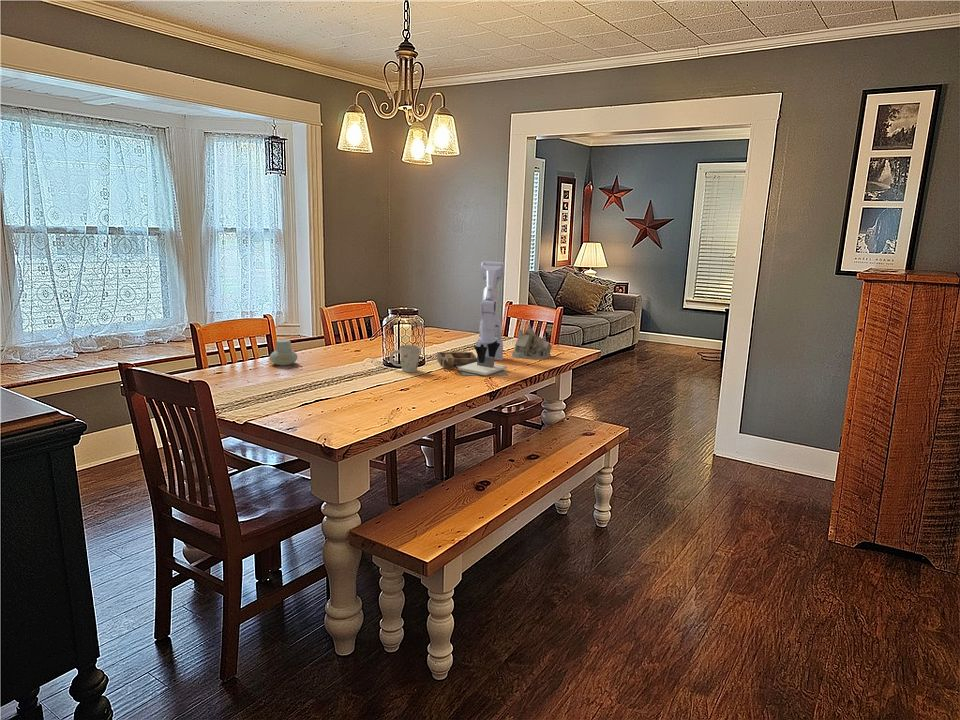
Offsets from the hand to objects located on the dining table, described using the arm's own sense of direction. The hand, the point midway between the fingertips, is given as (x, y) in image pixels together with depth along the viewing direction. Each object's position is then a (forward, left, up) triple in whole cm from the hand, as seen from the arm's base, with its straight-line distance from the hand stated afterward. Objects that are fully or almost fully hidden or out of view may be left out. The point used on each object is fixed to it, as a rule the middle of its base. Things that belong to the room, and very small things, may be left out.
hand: (486, 361), depth 266 cm
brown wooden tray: (+10, -13, -4) cm, 17 cm away
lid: (+2, +1, -3) cm, 4 cm away
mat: (+2, 0, -4) cm, 4 cm away
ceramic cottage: (-27, -28, -4) cm, 39 cm away
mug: (+34, -1, -4) cm, 34 cm away
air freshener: (+83, -14, -4) cm, 84 cm away
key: (+16, -1, 0) cm, 16 cm away
